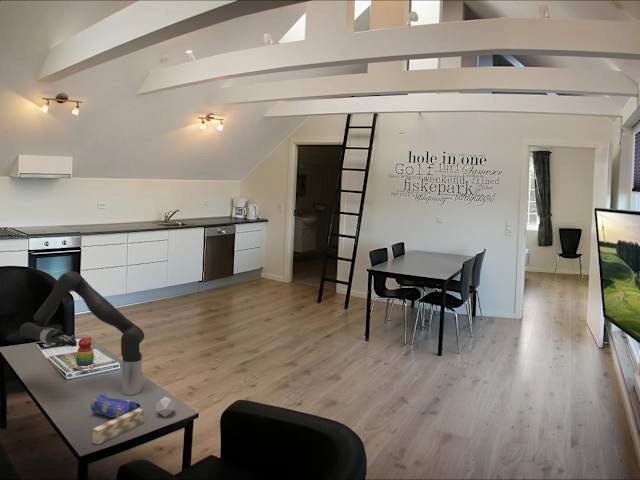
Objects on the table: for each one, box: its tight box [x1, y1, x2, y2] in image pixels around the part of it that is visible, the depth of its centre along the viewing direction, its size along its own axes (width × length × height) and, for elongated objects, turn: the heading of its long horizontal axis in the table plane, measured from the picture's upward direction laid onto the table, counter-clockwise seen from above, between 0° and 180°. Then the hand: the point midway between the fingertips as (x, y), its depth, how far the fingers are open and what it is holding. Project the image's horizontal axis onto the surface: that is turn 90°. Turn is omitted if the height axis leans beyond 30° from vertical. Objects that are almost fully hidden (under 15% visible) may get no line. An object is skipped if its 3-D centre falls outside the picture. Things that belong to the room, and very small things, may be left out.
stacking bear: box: [75, 336, 95, 366], centre depth 289 cm, size 11×10×18 cm
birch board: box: [92, 407, 144, 445], centre depth 223 cm, size 24×3×6 cm, turn 151°
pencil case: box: [90, 394, 142, 419], centre depth 236 cm, size 22×9×10 cm, turn 71°
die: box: [155, 396, 175, 418], centre depth 241 cm, size 8×9×10 cm
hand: (75, 344), depth 242 cm, fingers closed
